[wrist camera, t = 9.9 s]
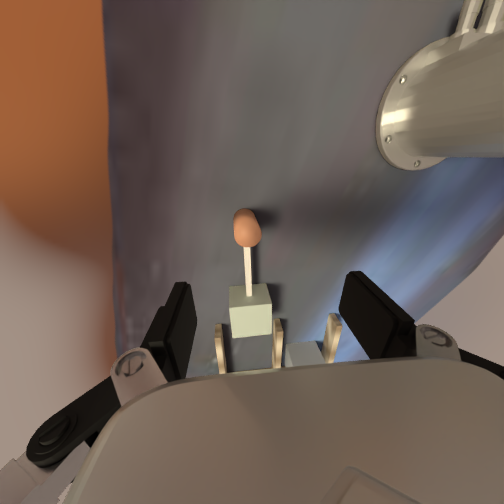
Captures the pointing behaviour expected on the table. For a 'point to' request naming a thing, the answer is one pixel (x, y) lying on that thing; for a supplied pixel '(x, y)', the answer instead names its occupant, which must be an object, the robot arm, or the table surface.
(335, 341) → the lane rack
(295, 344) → the blue-grey block
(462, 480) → the robot arm
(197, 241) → the table surface
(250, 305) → the knob-topped lever
